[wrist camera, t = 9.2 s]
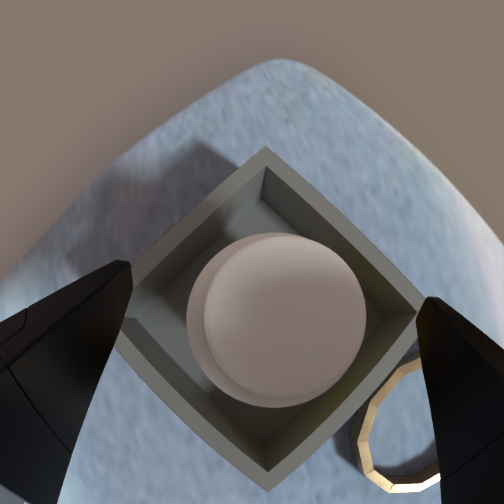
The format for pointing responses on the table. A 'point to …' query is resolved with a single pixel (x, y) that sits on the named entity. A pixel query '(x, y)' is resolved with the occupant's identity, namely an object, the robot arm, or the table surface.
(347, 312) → the supplement bottle
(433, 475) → the stud collar
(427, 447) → the table surface
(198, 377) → the bin
